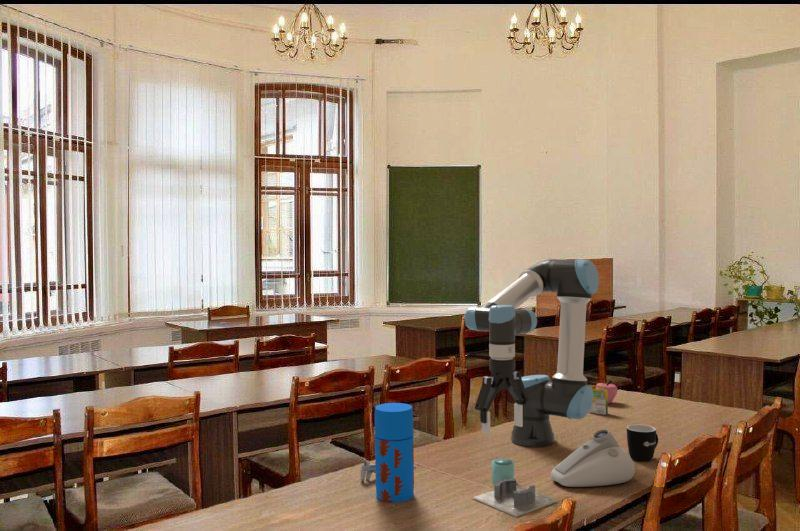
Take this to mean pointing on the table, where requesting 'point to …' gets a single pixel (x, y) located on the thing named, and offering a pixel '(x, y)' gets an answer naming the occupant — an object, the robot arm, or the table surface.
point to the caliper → (368, 468)
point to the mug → (641, 442)
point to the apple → (609, 390)
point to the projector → (595, 464)
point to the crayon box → (599, 400)
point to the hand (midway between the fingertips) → (502, 429)
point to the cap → (502, 469)
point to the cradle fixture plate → (514, 498)
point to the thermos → (394, 452)
